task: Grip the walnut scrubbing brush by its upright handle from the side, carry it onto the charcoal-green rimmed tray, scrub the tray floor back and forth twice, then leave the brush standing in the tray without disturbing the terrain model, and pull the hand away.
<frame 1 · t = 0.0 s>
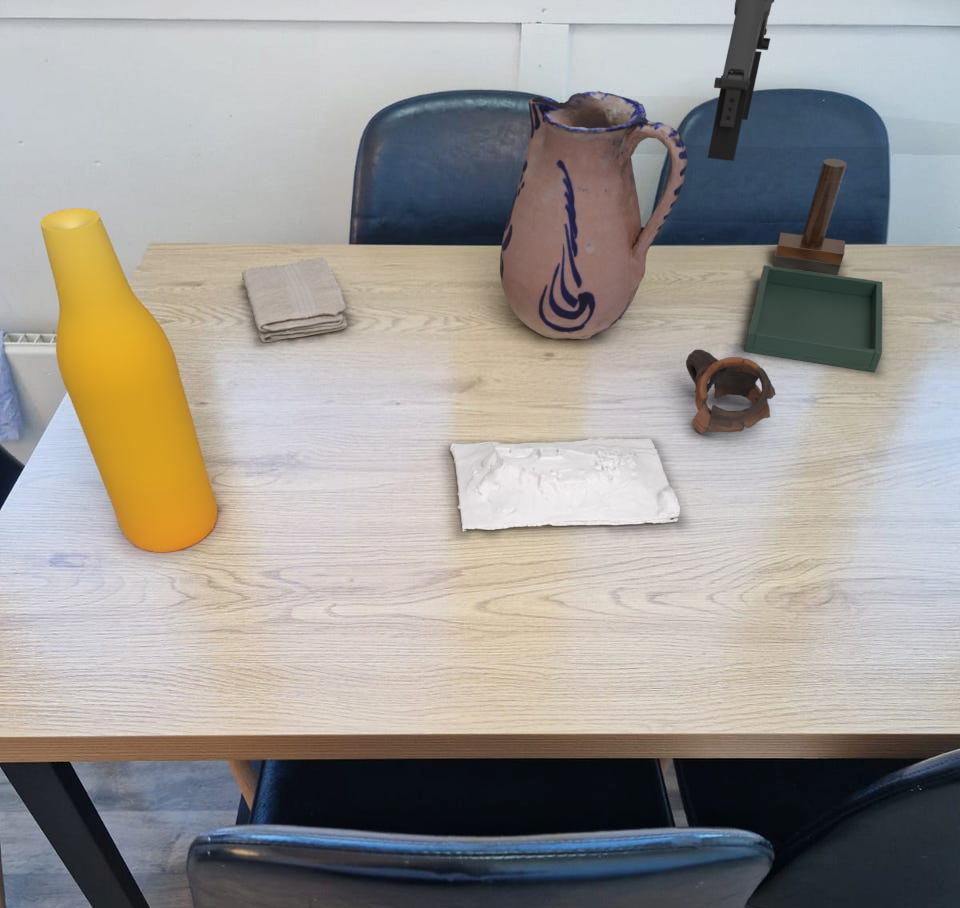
hand: (728, 137, 95), 22 cm above the table, tool pointing down, fingers open, 13 cm apart
broken clay pot: (719, 416, 98), on the table
beer bottle: (172, 525, 85), on the table
terrain model: (561, 486, 89), on the table
brush: (805, 263, 124), on the table
ceramic pitcher: (578, 327, 112), on the table
washcloth: (295, 308, 115), on the table
tray: (813, 324, 112), on the table
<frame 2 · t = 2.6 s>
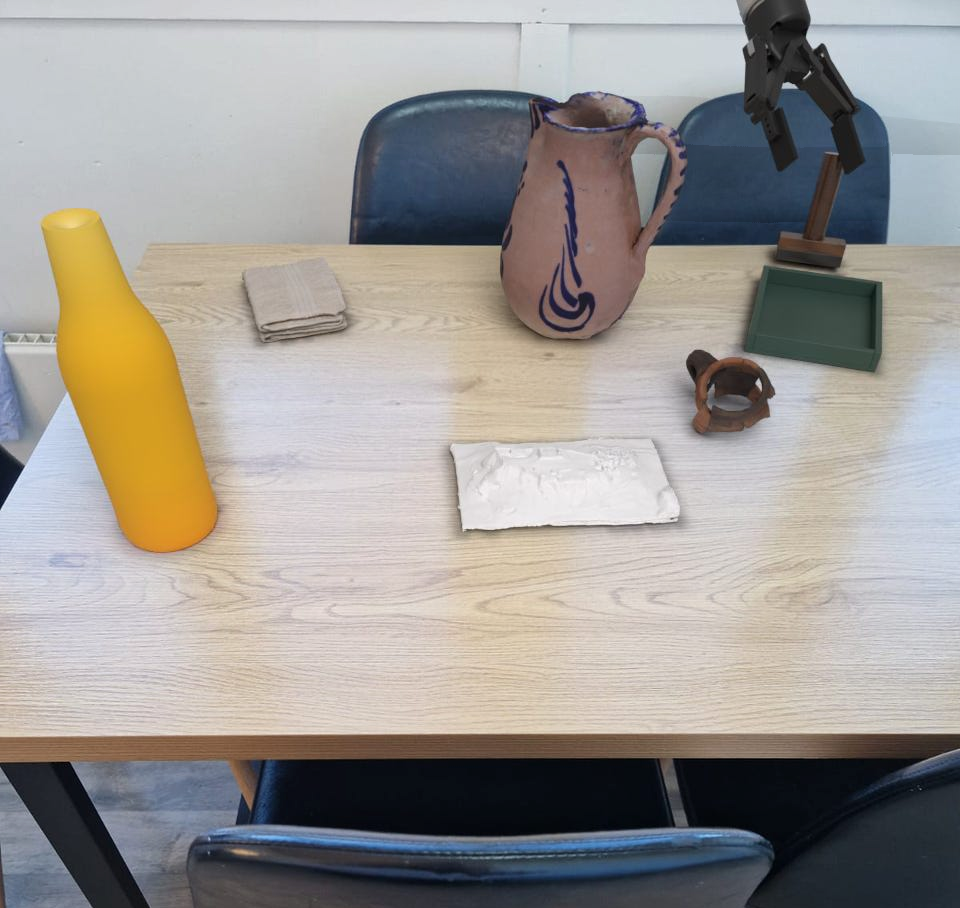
hand: (822, 166, 110), 15 cm above the table, tool tilted 50°, fingers open, 13 cm apart
brush: (806, 260, 124), on the table, tilted 12°, touching gripper
everything else where it was.
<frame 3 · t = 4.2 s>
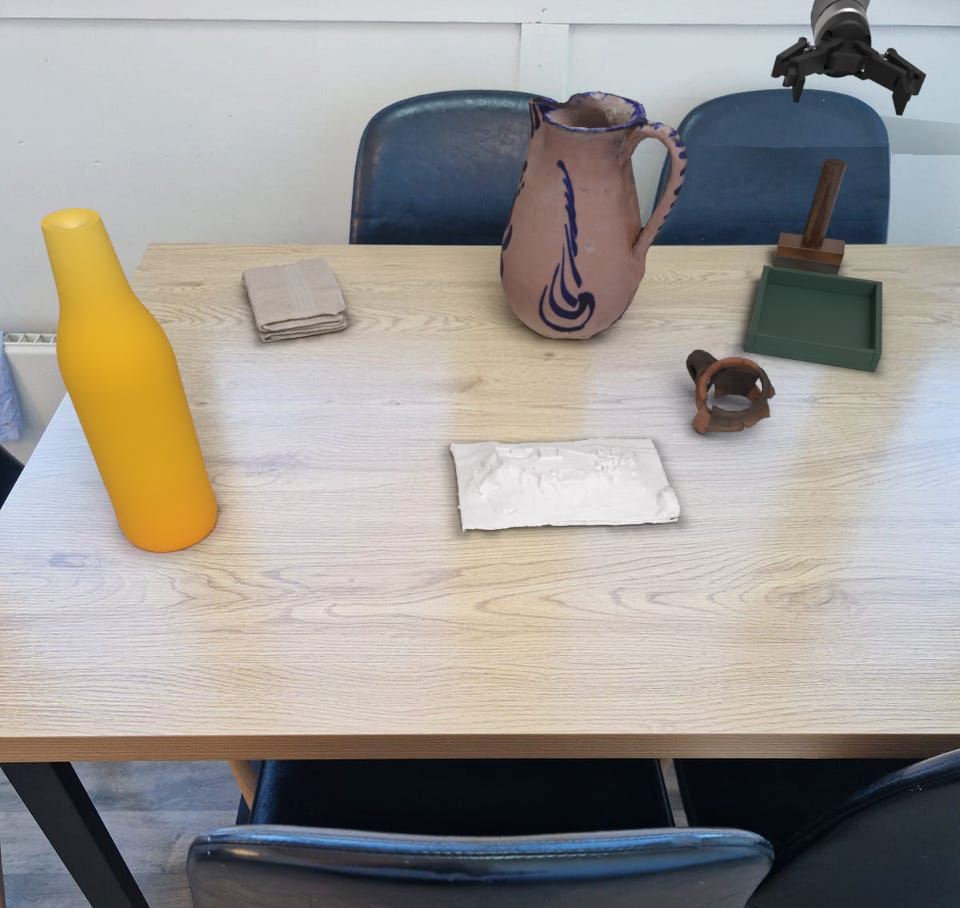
hand: (851, 98, 114), 19 cm above the table, tool horizontal, fingers open, 13 cm apart
brush: (805, 263, 124), on the table
everything else where it was.
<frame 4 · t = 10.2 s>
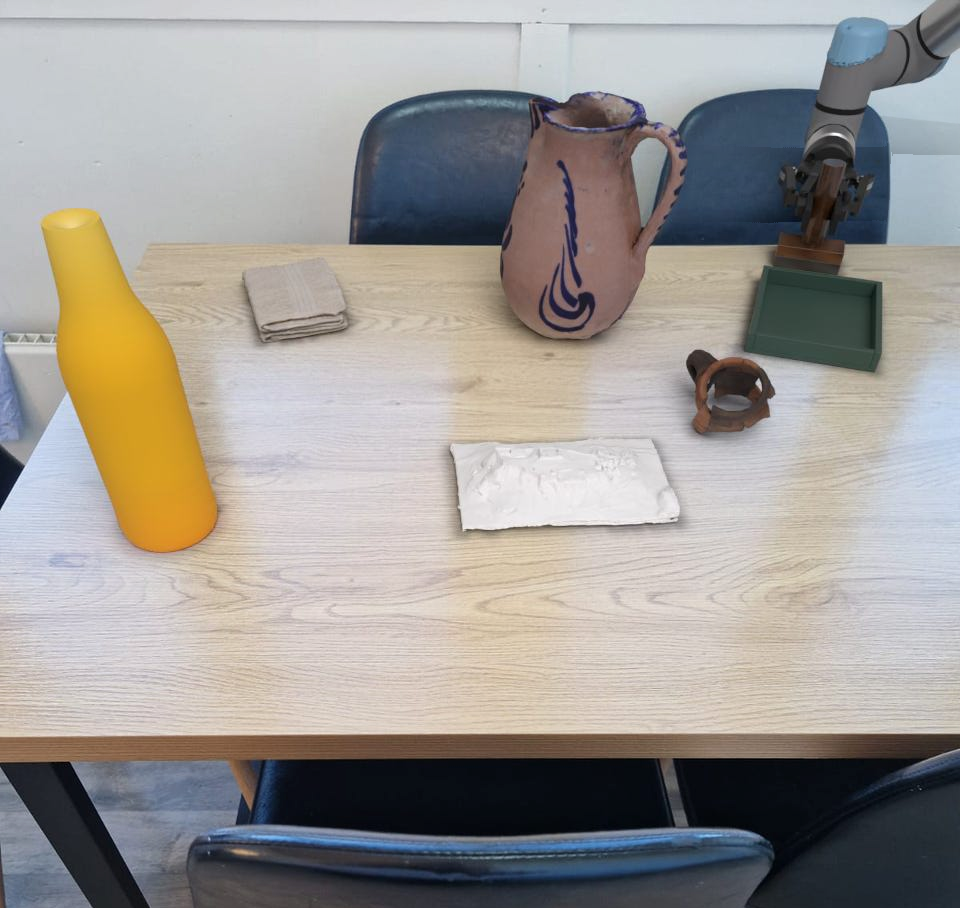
hand: (820, 223, 115), 8 cm above the table, tool horizontal, fingers closed on brush, 3 cm apart
brush: (805, 263, 124), on the table, touching gripper
everything else where it was.
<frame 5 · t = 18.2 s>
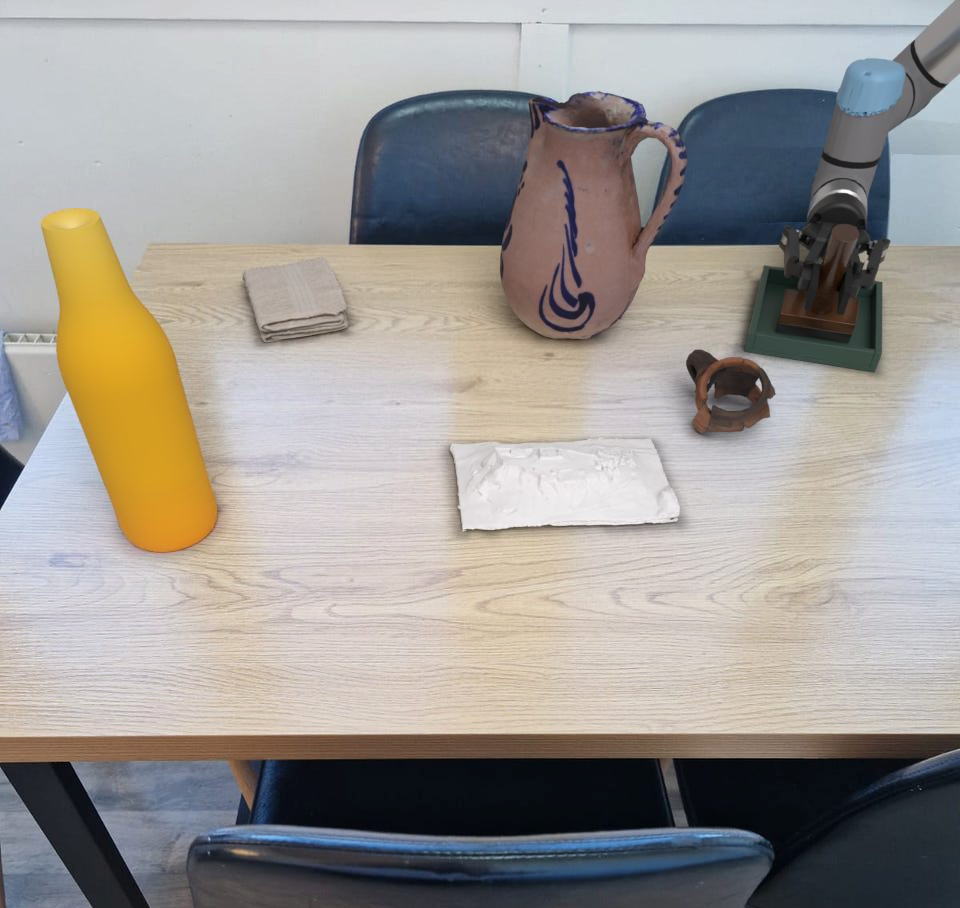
hand: (827, 301, 100), 8 cm above the table, tool horizontal, fingers closed on brush, 3 cm apart
brush: (813, 325, 110), point 1 cm above the table, tilted 16°, touching gripper
everything else where it was.
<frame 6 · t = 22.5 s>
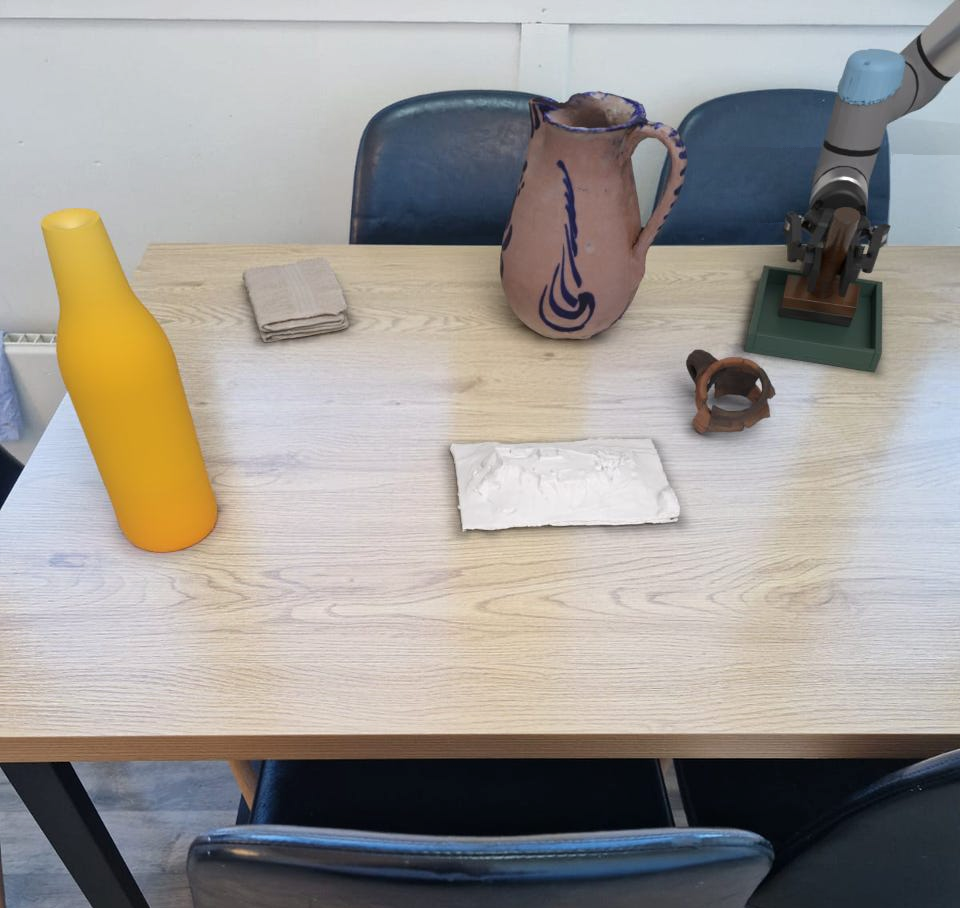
hand: (829, 283, 103), 8 cm above the table, tool horizontal, fingers closed on brush, 3 cm apart
brush: (815, 310, 113), point 1 cm above the table, tilted 13°, touching gripper
everything else where it was.
when the fingers open (8 cm above the table, at t = 26.3 s): brush stays where it is, resting on tray.
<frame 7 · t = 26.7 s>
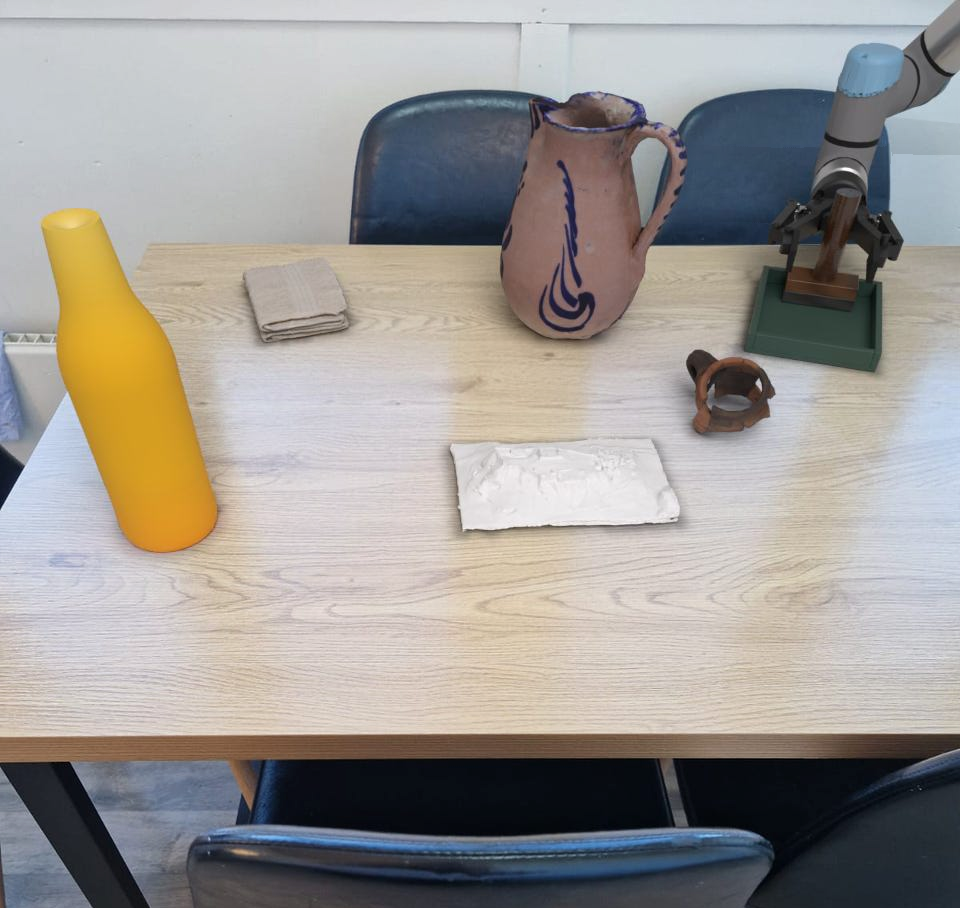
hand: (831, 266, 106), 8 cm above the table, tool horizontal, fingers open, 9 cm apart
brush: (816, 299, 116), point 1 cm above the table, touching tray
everything else where it was.
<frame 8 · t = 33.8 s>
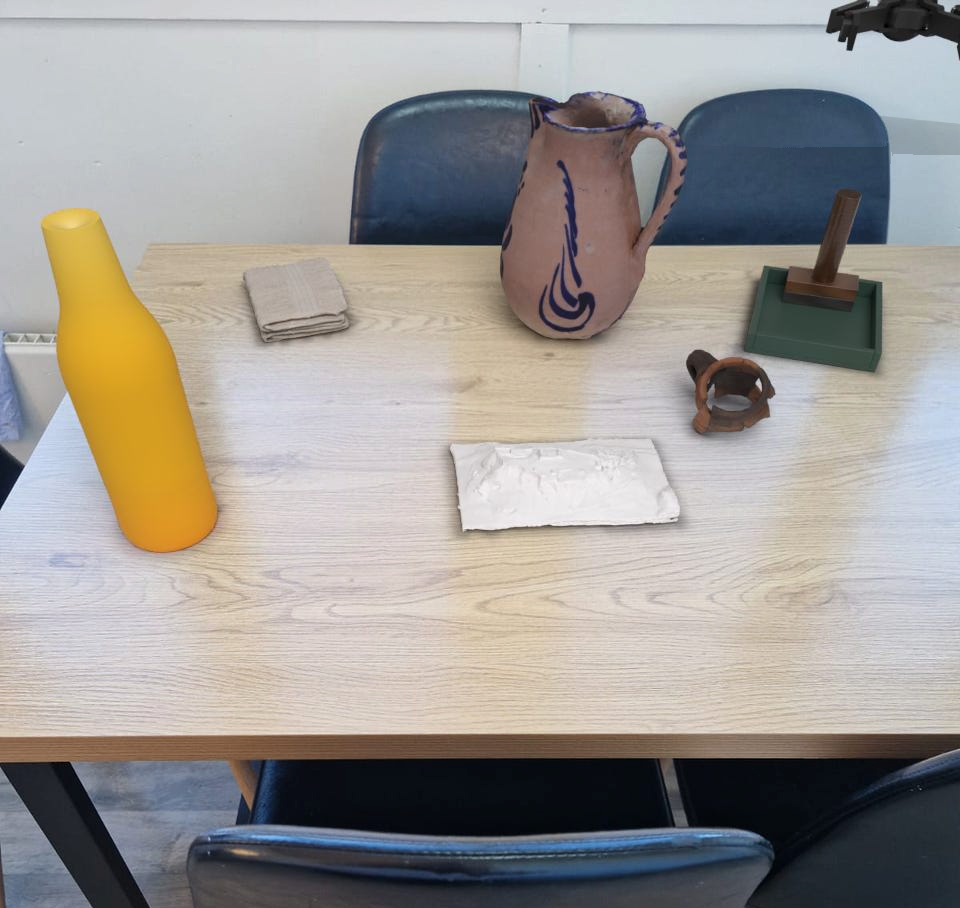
hand: (909, 43, 108), 26 cm above the table, tool horizontal, fingers open, 13 cm apart
nothing on the table moved.
at the end: brush inside the target area in the tray (6.2 cm from its centre), point 0.5 cm above the tray's base; brush tilted 0°; terrain model moved 0.2 cm from its start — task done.
